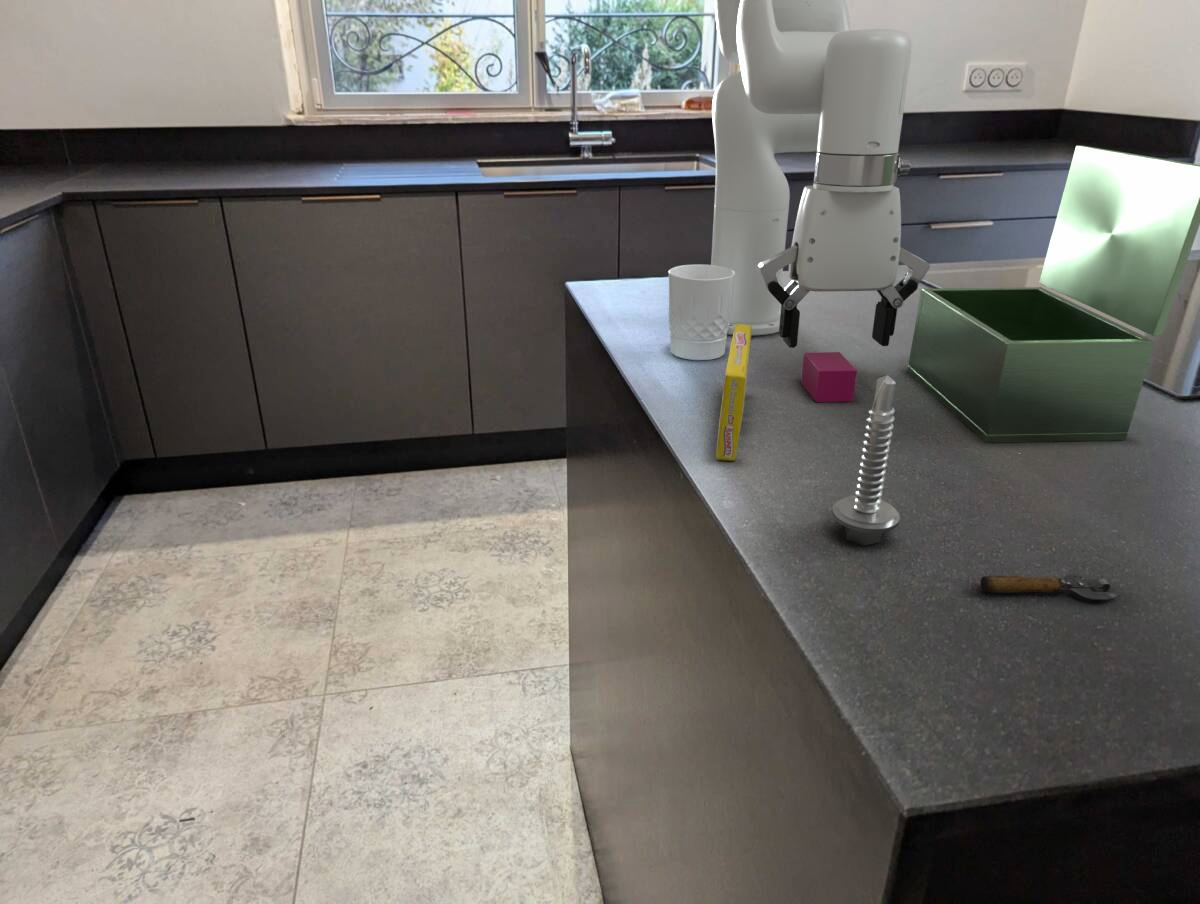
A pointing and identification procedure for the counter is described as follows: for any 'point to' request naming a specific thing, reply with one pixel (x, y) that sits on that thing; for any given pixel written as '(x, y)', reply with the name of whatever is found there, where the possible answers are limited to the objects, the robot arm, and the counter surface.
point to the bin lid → (1124, 234)
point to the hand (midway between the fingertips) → (834, 343)
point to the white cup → (700, 310)
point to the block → (828, 377)
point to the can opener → (1047, 585)
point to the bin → (1027, 364)
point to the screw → (872, 476)
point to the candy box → (734, 393)
